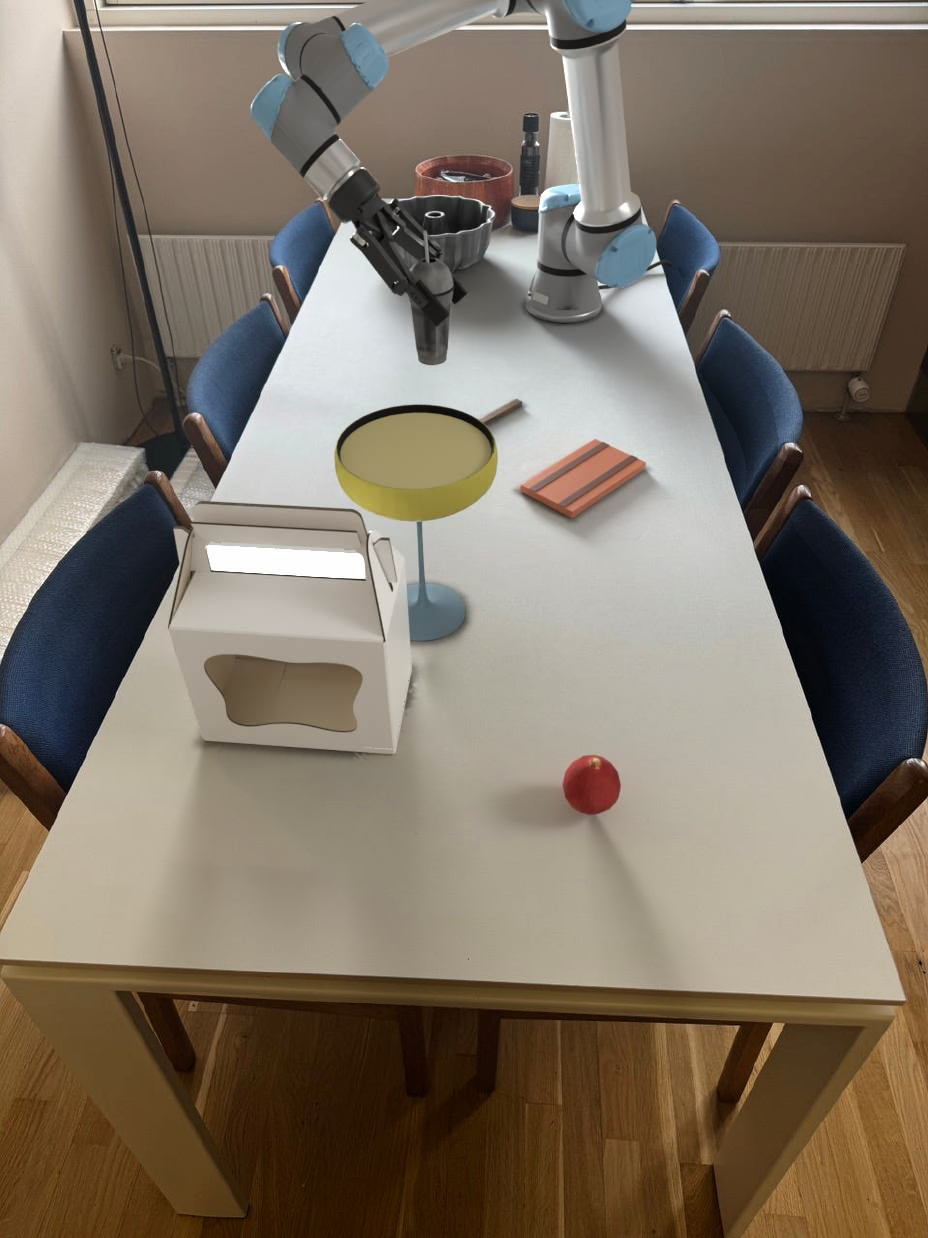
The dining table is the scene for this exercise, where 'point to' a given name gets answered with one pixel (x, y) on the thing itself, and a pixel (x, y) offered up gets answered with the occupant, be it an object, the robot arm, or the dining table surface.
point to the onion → (591, 784)
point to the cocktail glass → (418, 485)
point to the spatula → (501, 411)
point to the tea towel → (583, 477)
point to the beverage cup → (426, 333)
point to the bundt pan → (452, 227)
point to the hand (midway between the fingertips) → (452, 309)
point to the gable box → (292, 628)
